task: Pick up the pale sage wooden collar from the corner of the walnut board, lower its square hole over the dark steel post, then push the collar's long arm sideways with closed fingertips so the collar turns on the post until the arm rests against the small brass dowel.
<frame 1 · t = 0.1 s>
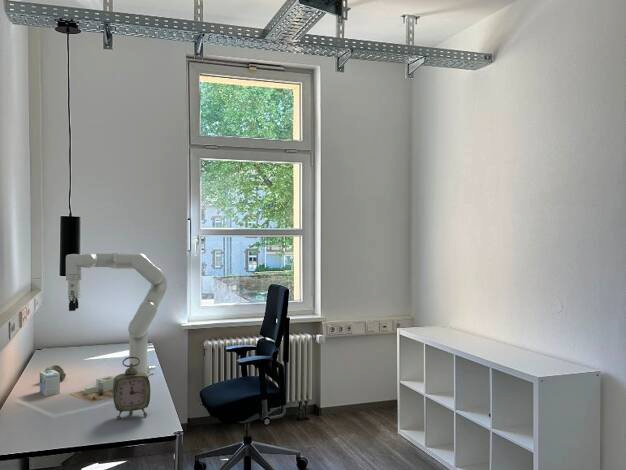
hand: (73, 309, 299), 37 cm above the table, tool pointing down, fingers open, 9 cm apart
post: (100, 397, 265), resting on board
fossil: (54, 382, 296), on the table
tabletop clock: (131, 416, 237), on the table
dowel: (94, 401, 258), resting on board
collar: (91, 392, 269), point 1 cm above the table, touching board
board: (101, 395, 268), on the table
light bulb box: (49, 395, 270), on the table
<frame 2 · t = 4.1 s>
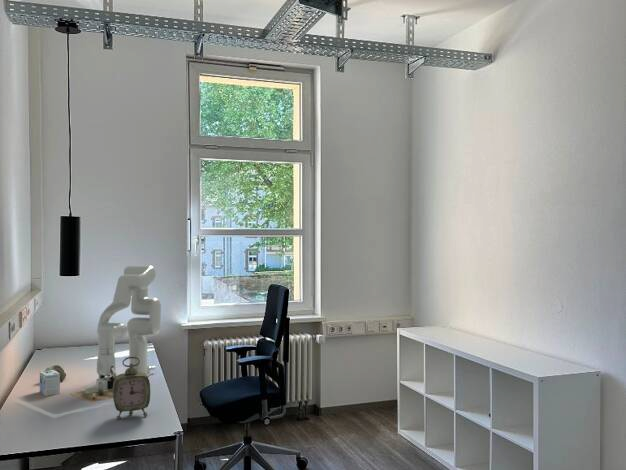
hand: (106, 387, 276), 2 cm above the table, tool pointing down, fingers closed on collar, 7 cm apart
collar: (91, 392, 269), point 1 cm above the table, touching board, gripper
everything else where it was.
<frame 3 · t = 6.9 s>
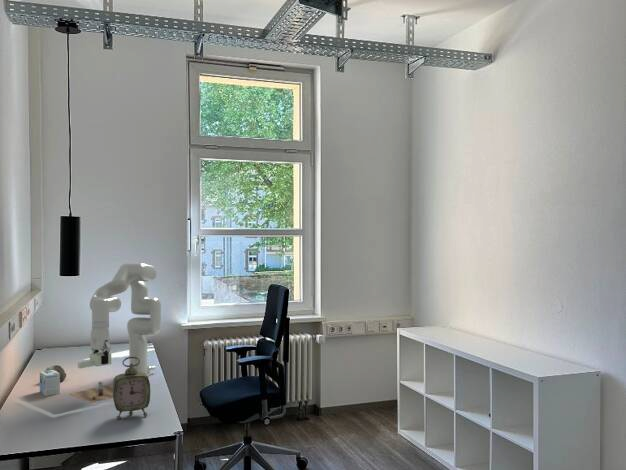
hand: (100, 362, 265), 17 cm above the table, tool pointing down, fingers closed on collar, 7 cm apart
collar: (84, 367, 259), point 16 cm above the table, touching gripper
everything else where it was.
when the fingers open (4 cm above the table, at t = 9.6 s): collar drops 2 cm, resting on board.
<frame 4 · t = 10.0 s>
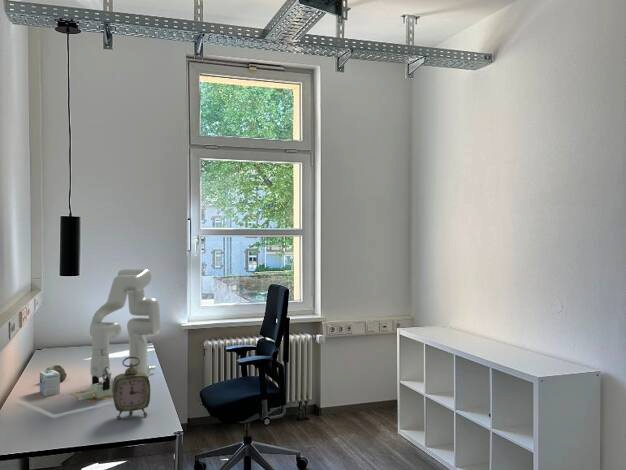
hand: (100, 388, 265), 5 cm above the table, tool pointing down, fingers open, 9 cm apart
collar: (84, 398, 259), point 1 cm above the table, touching board
everything else where it was.
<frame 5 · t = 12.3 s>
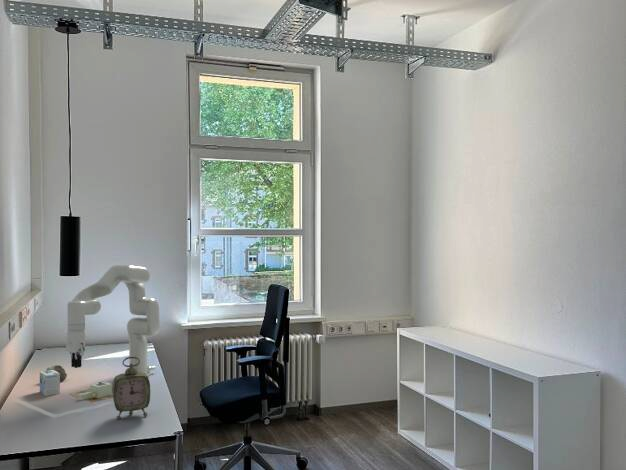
hand: (76, 366, 263), 15 cm above the table, tool pointing down, fingers closed
nothing on the table moved.
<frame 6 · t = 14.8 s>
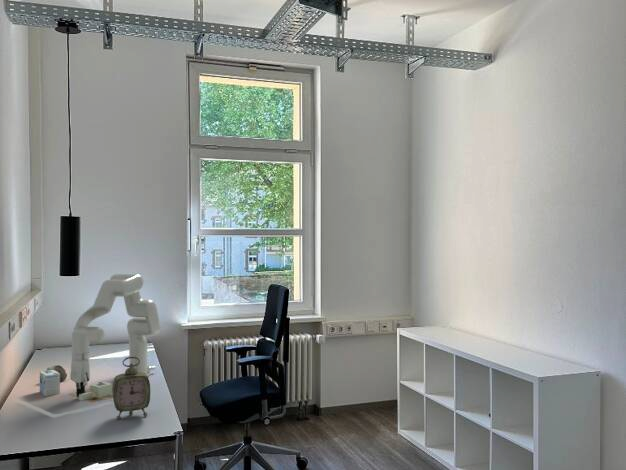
hand: (80, 396, 260), 2 cm above the table, tool pointing down, fingers closed
collar: (85, 399, 258), point 1 cm above the table, touching board, gripper
everything else where it was.
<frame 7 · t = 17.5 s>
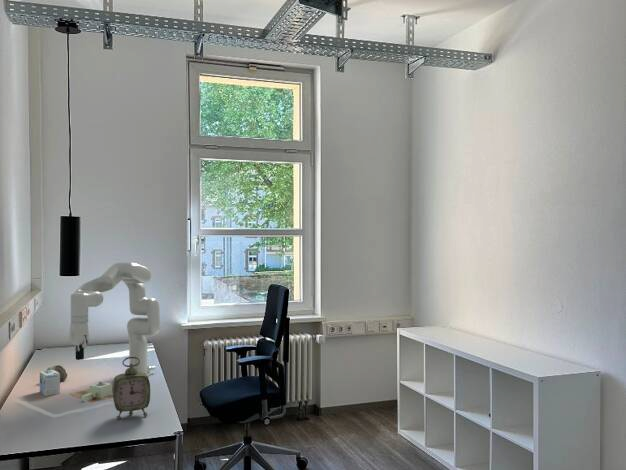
hand: (79, 359, 261), 19 cm above the table, tool pointing down, fingers closed
collar: (87, 400, 257), point 1 cm above the table, touching board, dowel
everything else where it was.
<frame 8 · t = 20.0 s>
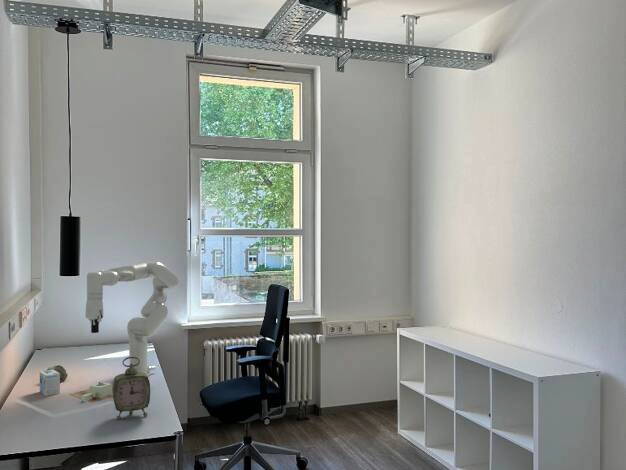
hand: (94, 332, 286), 27 cm above the table, tool pointing down, fingers closed
at the end: collar 0.3 cm from the target spot on the board, point 1.2 cm above the board's base; collar 8.4 cm from the post (horizontally); collar point 1.2 cm above the table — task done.
